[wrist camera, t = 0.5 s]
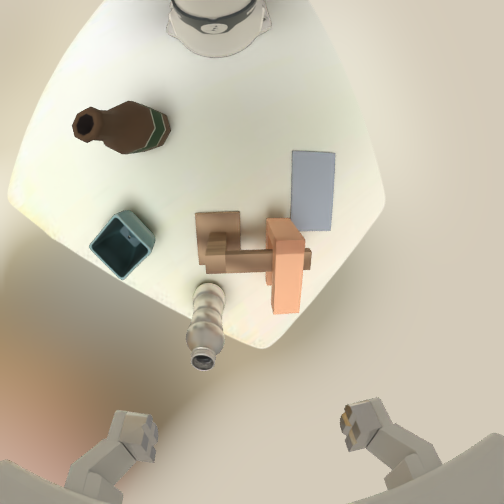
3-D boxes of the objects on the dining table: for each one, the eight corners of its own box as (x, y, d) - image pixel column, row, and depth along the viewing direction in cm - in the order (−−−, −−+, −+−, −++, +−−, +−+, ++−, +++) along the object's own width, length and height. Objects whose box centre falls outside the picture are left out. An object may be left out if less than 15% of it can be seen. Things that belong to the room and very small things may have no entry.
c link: (266, 218, 46) (276, 240, 36) (289, 217, 47) (305, 240, 37) (265, 280, 51) (273, 314, 41) (286, 279, 51) (299, 312, 41)
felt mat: (292, 150, 46) (292, 151, 45) (334, 153, 46) (335, 153, 46) (290, 230, 51) (290, 231, 51) (329, 229, 52) (330, 230, 51)
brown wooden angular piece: (195, 213, 49) (185, 233, 38) (296, 210, 50) (313, 230, 39) (199, 262, 53) (192, 293, 42) (293, 259, 54) (308, 289, 43)
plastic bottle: (217, 274, 54) (212, 341, 36) (230, 300, 57) (231, 371, 38) (189, 285, 55) (172, 352, 36) (203, 310, 57) (194, 380, 39)
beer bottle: (129, 150, 43) (52, 163, 21) (134, 109, 40) (60, 91, 18) (169, 152, 44) (114, 163, 22) (174, 109, 41) (124, 84, 19)
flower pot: (136, 260, 52) (122, 282, 43) (107, 230, 49) (87, 247, 40) (164, 233, 50) (152, 251, 42) (133, 200, 47) (115, 212, 39)
